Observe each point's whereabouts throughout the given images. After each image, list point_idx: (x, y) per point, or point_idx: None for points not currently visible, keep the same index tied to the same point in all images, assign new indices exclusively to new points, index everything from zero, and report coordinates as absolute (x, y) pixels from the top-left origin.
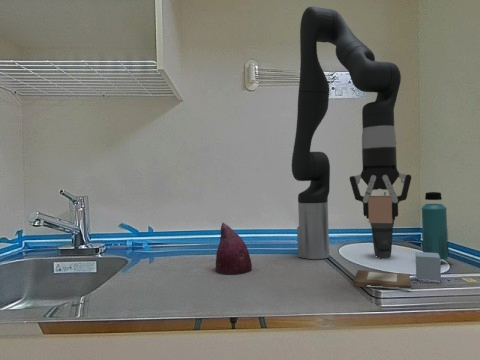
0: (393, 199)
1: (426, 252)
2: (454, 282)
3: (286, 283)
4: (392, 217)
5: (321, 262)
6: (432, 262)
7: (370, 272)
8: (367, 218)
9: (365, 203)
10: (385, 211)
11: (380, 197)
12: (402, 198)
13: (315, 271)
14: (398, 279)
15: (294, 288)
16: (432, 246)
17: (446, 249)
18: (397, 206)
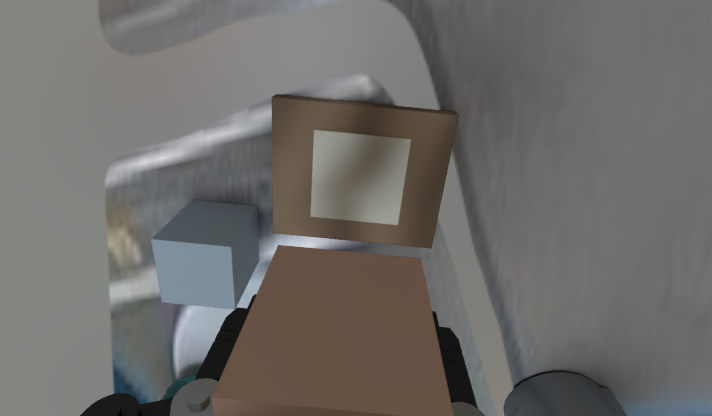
0: (209, 407)
1: None
2: (157, 214)
3: (700, 94)
4: None
5: (535, 348)
6: (185, 232)
7: (393, 219)
8: None
9: (458, 408)
10: (303, 299)
11: (324, 402)
12: (124, 411)
13: (568, 253)
14: (308, 164)
15: (678, 37)
16: None
17: None
18: (206, 364)
